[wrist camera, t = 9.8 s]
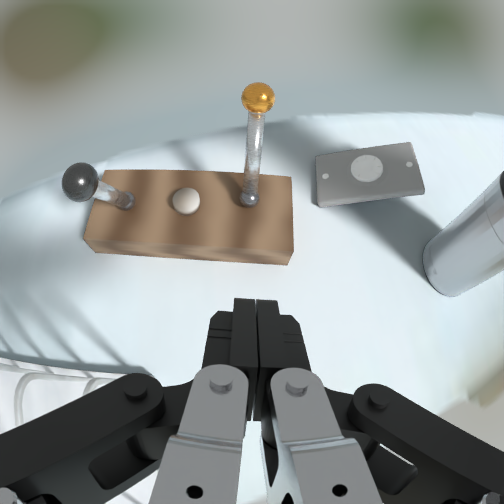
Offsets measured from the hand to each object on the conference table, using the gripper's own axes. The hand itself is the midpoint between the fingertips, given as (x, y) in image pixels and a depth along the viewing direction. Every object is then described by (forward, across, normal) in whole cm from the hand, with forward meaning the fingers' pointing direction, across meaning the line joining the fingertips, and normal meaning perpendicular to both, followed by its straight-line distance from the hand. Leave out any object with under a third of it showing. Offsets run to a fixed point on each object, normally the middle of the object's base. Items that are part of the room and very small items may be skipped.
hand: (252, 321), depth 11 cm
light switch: (+33, -16, -1) cm, 37 cm away
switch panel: (+28, +7, +4) cm, 29 cm away
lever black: (+25, +14, +2) cm, 28 cm away
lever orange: (+25, 0, +1) cm, 25 cm away
